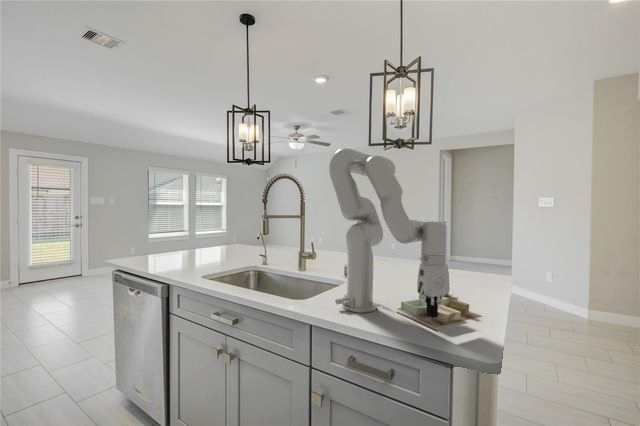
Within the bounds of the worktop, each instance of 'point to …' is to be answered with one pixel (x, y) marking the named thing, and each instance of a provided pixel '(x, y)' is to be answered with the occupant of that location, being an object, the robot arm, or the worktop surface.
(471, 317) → the board
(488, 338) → the worktop surface
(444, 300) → the holder
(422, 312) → the tray
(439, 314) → the beige cardboard box
